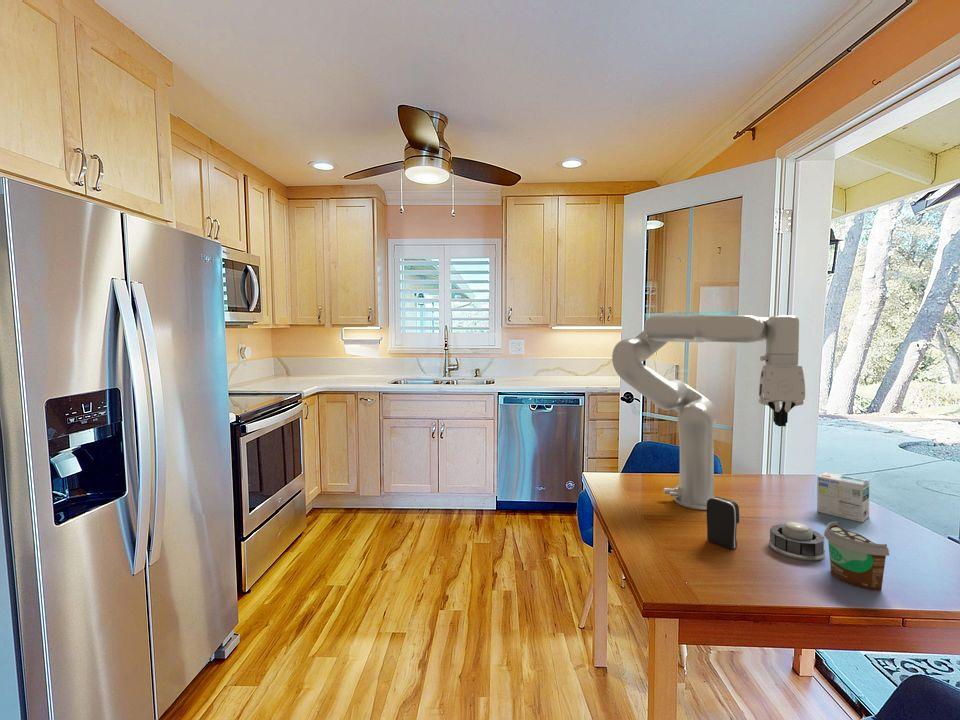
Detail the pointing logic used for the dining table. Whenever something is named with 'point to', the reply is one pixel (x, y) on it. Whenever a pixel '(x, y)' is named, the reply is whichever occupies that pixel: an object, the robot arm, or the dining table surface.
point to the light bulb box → (843, 496)
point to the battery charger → (722, 521)
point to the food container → (855, 558)
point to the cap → (797, 531)
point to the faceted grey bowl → (797, 545)
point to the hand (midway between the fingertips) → (780, 425)
